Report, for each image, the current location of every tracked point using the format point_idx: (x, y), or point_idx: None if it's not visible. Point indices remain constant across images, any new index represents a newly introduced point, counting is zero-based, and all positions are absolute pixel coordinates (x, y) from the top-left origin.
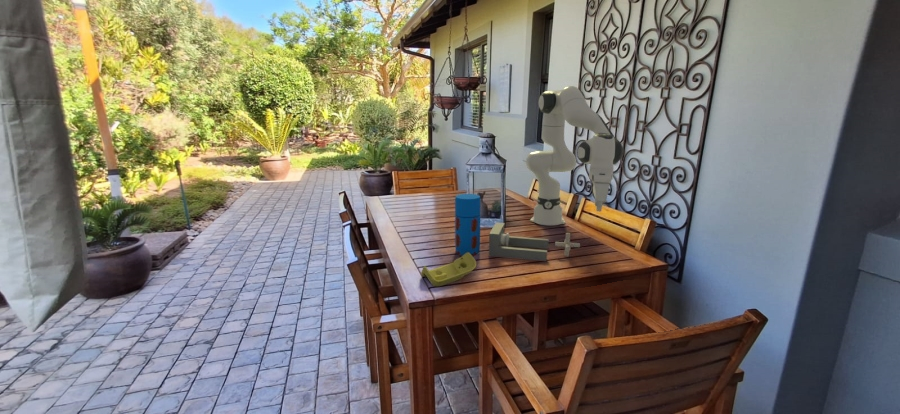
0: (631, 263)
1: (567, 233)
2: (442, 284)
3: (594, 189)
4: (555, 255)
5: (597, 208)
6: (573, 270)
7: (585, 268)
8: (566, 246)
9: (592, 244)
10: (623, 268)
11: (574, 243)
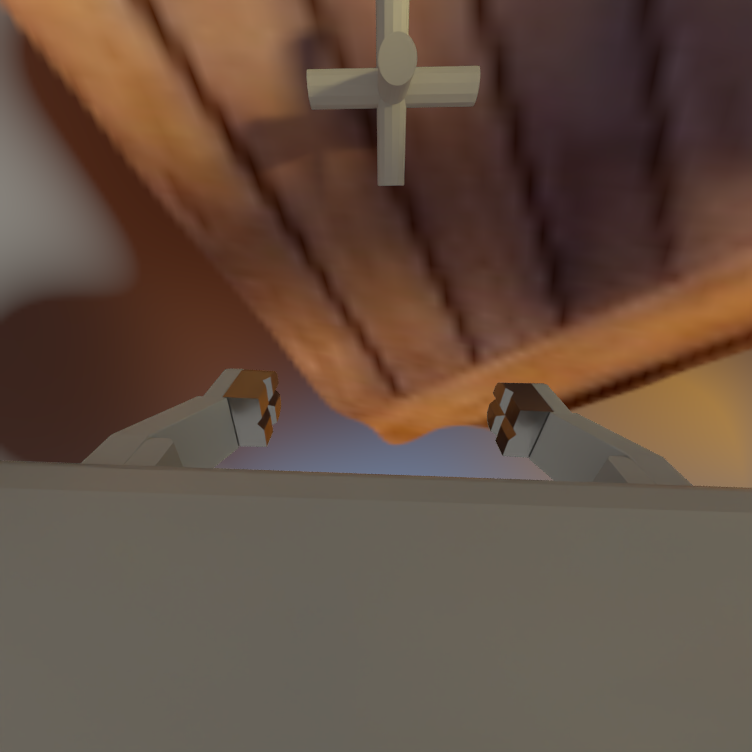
0: (354, 386)
1: (396, 51)
2: None
3: (607, 689)
4: None
5: (216, 392)
6: (187, 134)
7: (240, 205)
8: (324, 71)
9: (566, 278)
10: (298, 355)
11: (385, 144)
